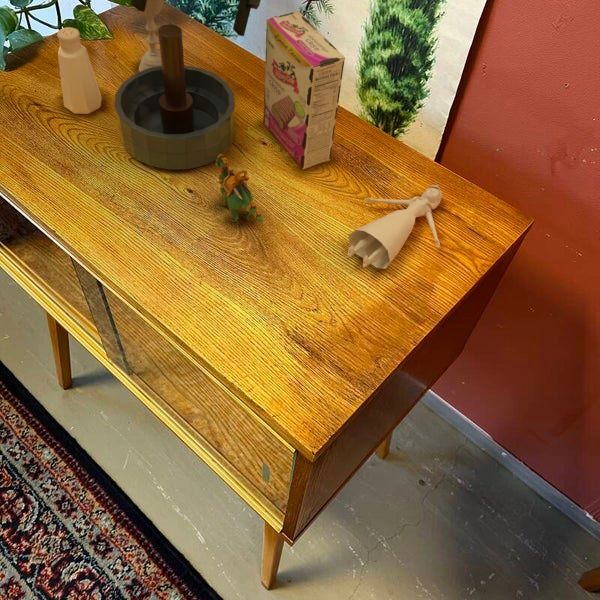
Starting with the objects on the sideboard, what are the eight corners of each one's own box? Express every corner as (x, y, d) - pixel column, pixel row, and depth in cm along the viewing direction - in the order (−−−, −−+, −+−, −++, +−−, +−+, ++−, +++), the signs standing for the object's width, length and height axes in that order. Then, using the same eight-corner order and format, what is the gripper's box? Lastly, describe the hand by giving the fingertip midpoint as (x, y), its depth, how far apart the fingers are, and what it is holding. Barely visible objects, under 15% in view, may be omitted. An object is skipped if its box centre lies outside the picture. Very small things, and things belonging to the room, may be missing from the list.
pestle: (158, 137, 91) (146, 37, 79) (168, 118, 93) (158, 17, 81) (189, 143, 90) (182, 43, 79) (198, 124, 93) (193, 24, 81)
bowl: (103, 161, 88) (96, 124, 83) (143, 92, 98) (138, 56, 93) (217, 183, 87) (216, 147, 83) (246, 112, 97) (247, 76, 92)
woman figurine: (321, 219, 78) (405, 156, 88) (315, 246, 82) (398, 182, 92) (401, 273, 74) (480, 200, 84) (392, 298, 78) (469, 226, 88)
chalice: (162, 50, 104) (150, -70, 90) (188, 70, 102) (180, -50, 87) (122, 66, 101) (103, -56, 87) (148, 88, 98) (133, -34, 84)
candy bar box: (260, 125, 95) (264, 17, 82) (290, 115, 97) (299, 8, 84) (300, 173, 90) (312, 65, 77) (331, 162, 92) (347, 55, 79)
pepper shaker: (96, 88, 97) (82, 17, 89) (107, 109, 95) (94, 38, 86) (59, 96, 96) (41, 25, 87) (69, 118, 93) (52, 47, 84)
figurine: (228, 184, 87) (227, 134, 81) (273, 245, 82) (276, 196, 75) (206, 191, 86) (204, 141, 80) (251, 253, 80) (252, 205, 74)
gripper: (331, -121, 83) (287, 51, 86) (146, -161, 86) (109, 7, 89) (324, -155, 75) (275, 34, 78) (121, -197, 78) (82, -13, 81)
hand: (187, 20), depth 84 cm, fingers open, 13 cm apart
